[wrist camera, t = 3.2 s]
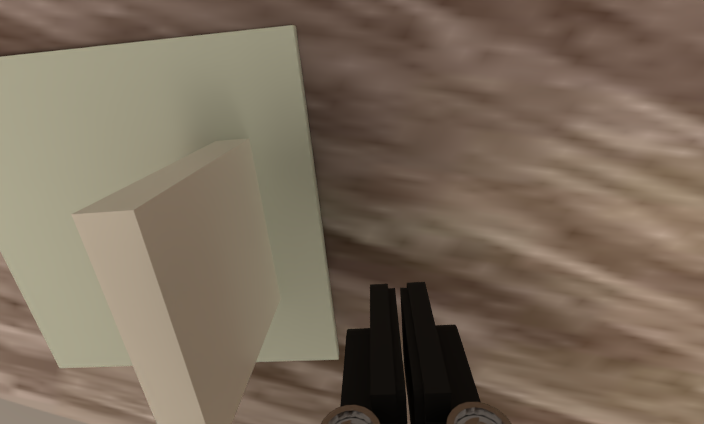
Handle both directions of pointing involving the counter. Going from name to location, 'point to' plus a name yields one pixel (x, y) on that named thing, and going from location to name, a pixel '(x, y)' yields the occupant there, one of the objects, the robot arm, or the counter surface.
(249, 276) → the tile
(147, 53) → the mat
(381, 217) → the counter surface
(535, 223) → the counter surface
